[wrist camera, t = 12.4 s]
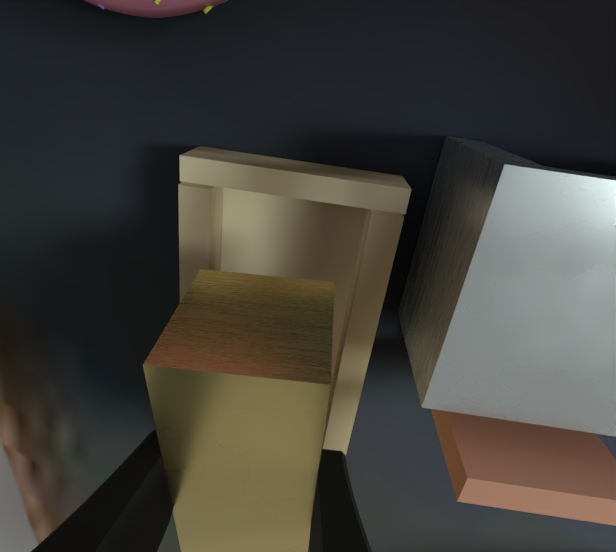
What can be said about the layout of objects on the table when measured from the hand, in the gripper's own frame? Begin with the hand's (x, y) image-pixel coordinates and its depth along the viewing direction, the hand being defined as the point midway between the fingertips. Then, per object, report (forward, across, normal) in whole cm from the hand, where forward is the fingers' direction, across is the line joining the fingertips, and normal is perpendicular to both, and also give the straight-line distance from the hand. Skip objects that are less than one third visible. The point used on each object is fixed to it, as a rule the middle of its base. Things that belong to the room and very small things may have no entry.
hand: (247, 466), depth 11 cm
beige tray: (+7, 0, 0) cm, 7 cm away
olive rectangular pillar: (+3, 0, 0) cm, 3 cm away
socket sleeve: (+7, -9, -5) cm, 12 cm away
